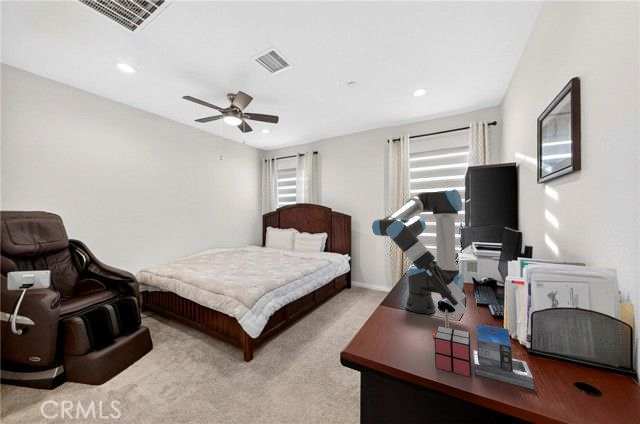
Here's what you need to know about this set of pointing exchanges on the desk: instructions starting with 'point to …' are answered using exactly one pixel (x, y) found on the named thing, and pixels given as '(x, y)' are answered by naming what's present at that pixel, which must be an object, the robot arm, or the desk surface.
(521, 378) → the rail tray
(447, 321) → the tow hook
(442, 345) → the puzzle cube
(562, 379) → the desk surface
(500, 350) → the label tape box
